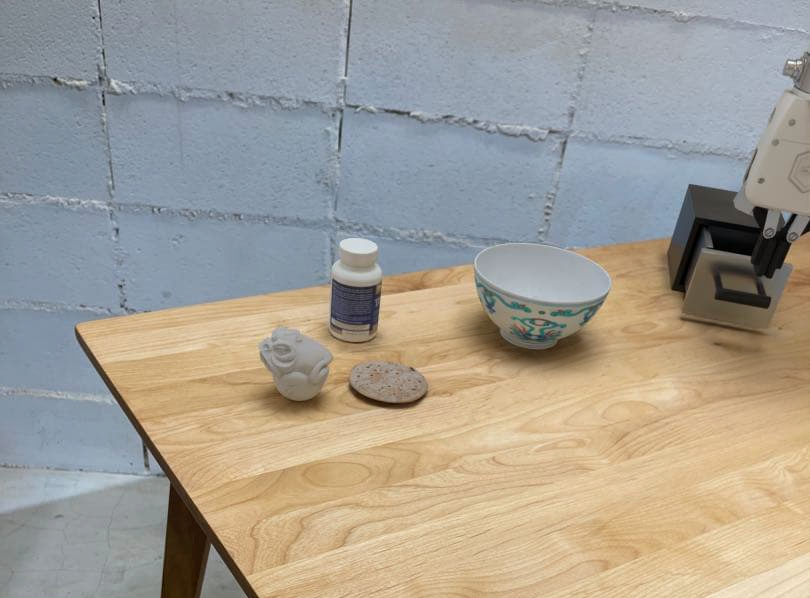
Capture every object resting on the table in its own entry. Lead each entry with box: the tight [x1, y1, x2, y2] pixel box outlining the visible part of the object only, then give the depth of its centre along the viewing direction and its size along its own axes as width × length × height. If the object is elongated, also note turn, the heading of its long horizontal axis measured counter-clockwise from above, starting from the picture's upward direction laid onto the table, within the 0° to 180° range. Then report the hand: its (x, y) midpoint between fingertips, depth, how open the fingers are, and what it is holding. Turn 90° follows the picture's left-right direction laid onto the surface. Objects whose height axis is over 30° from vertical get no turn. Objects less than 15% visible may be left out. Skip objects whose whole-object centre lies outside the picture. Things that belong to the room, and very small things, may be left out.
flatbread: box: [348, 360, 429, 404], centre depth 84 cm, size 8×8×1 cm
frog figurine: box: [257, 325, 334, 402], centre depth 79 cm, size 6×7×7 cm
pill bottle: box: [328, 237, 383, 343], centre depth 89 cm, size 5×5×10 cm
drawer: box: [681, 224, 794, 330], centre depth 102 cm, size 17×10×8 cm, turn 169°
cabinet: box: [667, 183, 786, 293], centre depth 111 cm, size 13×12×10 cm
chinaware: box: [473, 242, 613, 350], centre depth 93 cm, size 15×15×8 cm
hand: (762, 272), depth 89 cm, fingers closed
